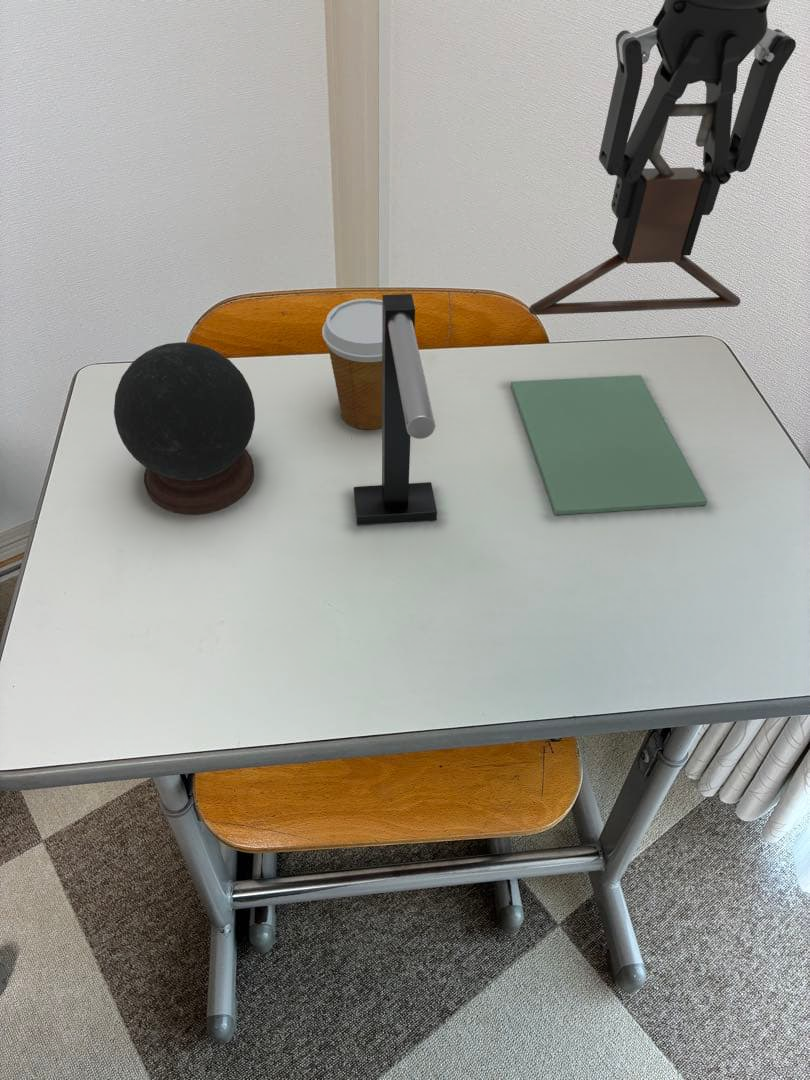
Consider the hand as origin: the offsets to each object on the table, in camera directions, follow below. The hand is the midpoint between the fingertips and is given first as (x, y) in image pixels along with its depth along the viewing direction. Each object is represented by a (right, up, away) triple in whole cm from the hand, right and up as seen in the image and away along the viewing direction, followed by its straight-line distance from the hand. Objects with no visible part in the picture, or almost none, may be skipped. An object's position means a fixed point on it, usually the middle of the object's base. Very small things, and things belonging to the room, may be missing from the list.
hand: (651, 248), depth 72 cm
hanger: (0, -4, +5) cm, 6 cm away
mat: (0, -15, +16) cm, 23 cm away
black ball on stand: (-44, -20, +11) cm, 49 cm away
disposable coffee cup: (-27, -12, +19) cm, 35 cm away
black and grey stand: (-23, -28, +4) cm, 36 cm away
